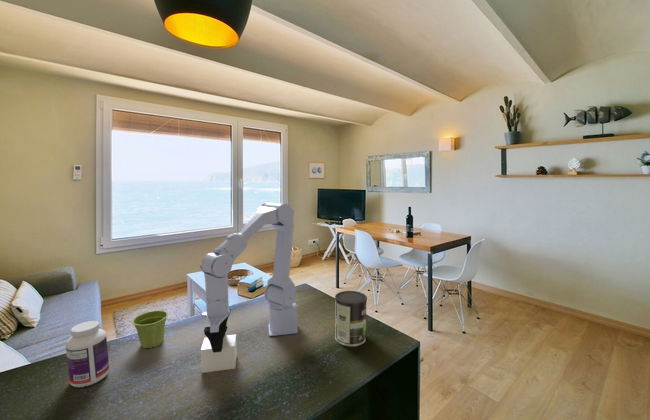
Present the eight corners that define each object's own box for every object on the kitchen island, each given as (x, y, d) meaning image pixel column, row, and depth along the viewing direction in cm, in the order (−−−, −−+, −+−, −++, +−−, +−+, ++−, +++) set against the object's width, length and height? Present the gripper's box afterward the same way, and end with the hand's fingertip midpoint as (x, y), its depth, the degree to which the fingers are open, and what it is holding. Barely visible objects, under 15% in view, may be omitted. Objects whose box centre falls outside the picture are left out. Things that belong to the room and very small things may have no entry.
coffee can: (366, 331, 99) (367, 291, 97) (365, 348, 89) (366, 304, 87) (337, 328, 101) (337, 289, 99) (332, 344, 91) (332, 301, 89)
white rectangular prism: (236, 355, 85) (236, 334, 84) (235, 368, 79) (234, 345, 78) (205, 359, 83) (204, 337, 82) (201, 373, 77) (200, 349, 76)
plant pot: (142, 356, 84) (140, 328, 83) (129, 345, 90) (127, 318, 89) (174, 342, 92) (173, 316, 91) (161, 332, 97) (159, 307, 96)
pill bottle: (104, 364, 81) (100, 315, 79) (113, 376, 76) (109, 324, 74) (66, 379, 74) (61, 326, 73) (73, 394, 69) (67, 338, 68)
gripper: (206, 287, 85) (208, 331, 87) (196, 310, 71) (198, 361, 73) (231, 285, 87) (233, 328, 88) (226, 307, 72) (228, 357, 74)
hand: (219, 343), depth 80 cm, fingers open, 7 cm apart
